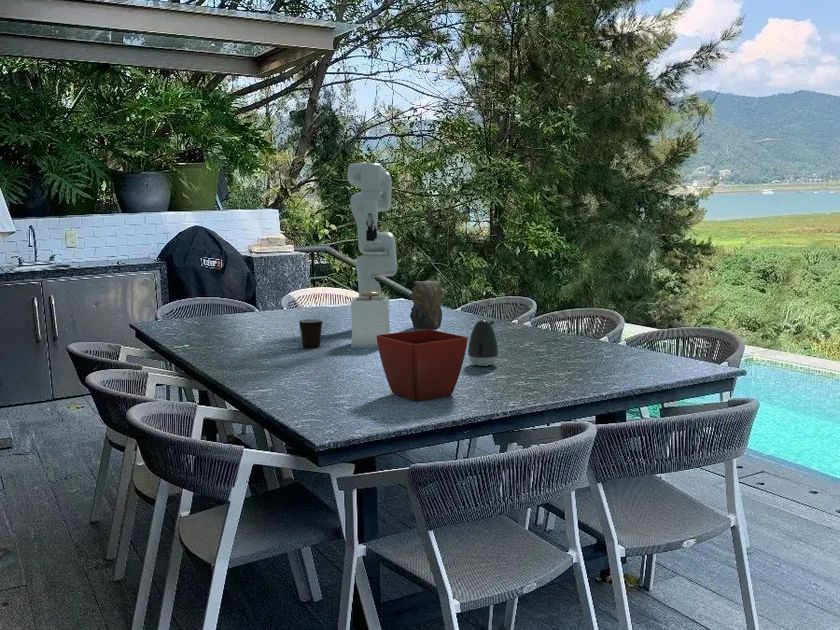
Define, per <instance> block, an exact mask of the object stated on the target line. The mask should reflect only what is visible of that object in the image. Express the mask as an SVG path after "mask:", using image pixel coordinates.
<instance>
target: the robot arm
mask: <svg viewBox="0 0 840 630" xmlns="http://www.w3.org/2000/svg"><path fill="white" fill-rule="evenodd" d="M347 180H348V183H349V184H350V185H351V186H355V187H358V188H359V189H360V192H356V193H353V194H352V195H351V197H350V209H351V212H352V215H353V218H354V220H355V222H356V225H357V244H358V250H359V251H360V253H361V254H362V255H359V256H358V257H357V258H356V260H355V270H356V275H357V276H356V277H357V282H358V283H357V284H358V287H357V288H358V297H369V296H361V292H366V291H377V292H379V296H372V297H382V289H381V288H382V286H381V285H380V282H378V281H377V280H376V279H375V278H377V277H394V276H395V275H396V273H397V271H398V259H397V246H396V245H397V244H396V239H395V236H394V234H393V233H392V232H389V231H378V217H379V212H388V211H390V209H391V206H392V189H393V187H392V186H393V185H392V184H393V183H392V177H391V175H390V173H389V172H388V171H387V170H385V168H384V167H383V165H382V164H381V163H378V162H354V163H353V162H352V163H350V164H349V165H348V167H347Z"/></svg>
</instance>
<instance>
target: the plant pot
mask: <svg viewBox="0 0 840 630" xmlns="http://www.w3.org/2000/svg"><path fill="white" fill-rule="evenodd" d="M468 339H469V338H468V337H467V336H463V335H459V334H454V333H448V332H444V331H440V330H436V329H418V330H411V331H409V330H408V331H402V332H394V333H393V332H392V333H390V334H383V335H377V343H378V352H379V357H380V361H381V365H382V367H383V372H384V374H385V378H386V380H387V383H388V386H389V389H390V390H391V393H392V394H394V395H397V396H400V397H403V398H406V399H408V400H412V401H414V402H415V401H416V402H418V401H419V402H420V401H424V400H430V399H431V398H432V399H437V397H438V398H443V397H442V396H444V397H448V396H447V395H449V396H452V395H453V393H454V391H455V388H456V385H457V383H458V380H459V378H460V373H461V371H462V367H463V364H464V360H465V356H466V350H467V344H468ZM451 394H452V395H451ZM432 399H431V400H432Z"/></svg>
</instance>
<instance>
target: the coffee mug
mask: <svg viewBox="0 0 840 630" xmlns="http://www.w3.org/2000/svg"><path fill="white" fill-rule="evenodd" d="M298 323H299V330H300V336H301V343H302V348H303V349H310V350H311V349H319V348H321V339H322V338H321V337H322V327H323V319H319V318H318V319H317V318H314V319H312V318H311V319H302V320H298Z"/></svg>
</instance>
